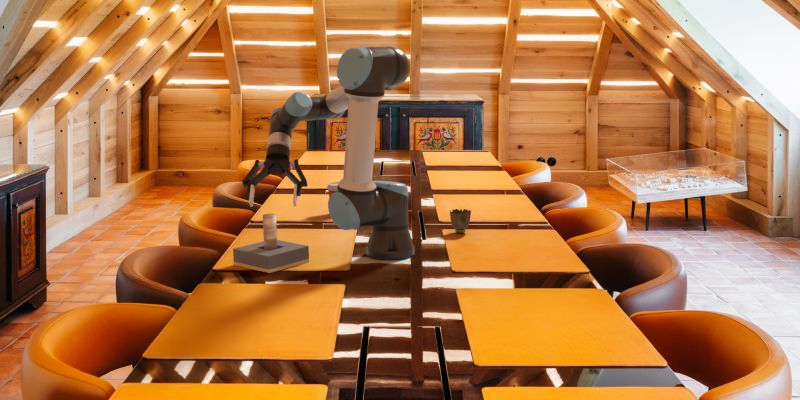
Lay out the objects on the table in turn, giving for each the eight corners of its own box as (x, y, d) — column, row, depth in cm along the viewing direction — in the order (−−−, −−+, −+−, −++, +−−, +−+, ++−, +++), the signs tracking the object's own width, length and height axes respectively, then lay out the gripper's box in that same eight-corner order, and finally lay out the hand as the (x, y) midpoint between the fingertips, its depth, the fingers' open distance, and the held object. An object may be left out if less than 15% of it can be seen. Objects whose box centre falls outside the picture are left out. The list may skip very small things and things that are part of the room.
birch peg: (280, 259, 250) (278, 214, 248) (270, 262, 247) (268, 216, 245) (271, 257, 253) (270, 213, 250) (262, 260, 250) (259, 215, 247)
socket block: (309, 261, 251) (308, 245, 250) (269, 273, 239) (268, 256, 238) (273, 254, 261) (272, 238, 260) (233, 264, 249) (233, 248, 248)
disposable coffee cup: (351, 216, 319) (350, 185, 317) (326, 216, 320) (325, 185, 317) (352, 211, 329) (352, 181, 327) (328, 211, 329) (328, 182, 327)
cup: (457, 229, 293) (457, 207, 291) (475, 232, 288) (475, 209, 287) (445, 233, 287) (445, 210, 286) (462, 236, 283) (462, 213, 281)
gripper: (318, 156, 268) (314, 210, 256) (242, 157, 269) (234, 211, 257) (315, 142, 262) (311, 196, 250) (237, 143, 263) (230, 197, 251)
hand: (272, 204), depth 253 cm, fingers open, 13 cm apart
